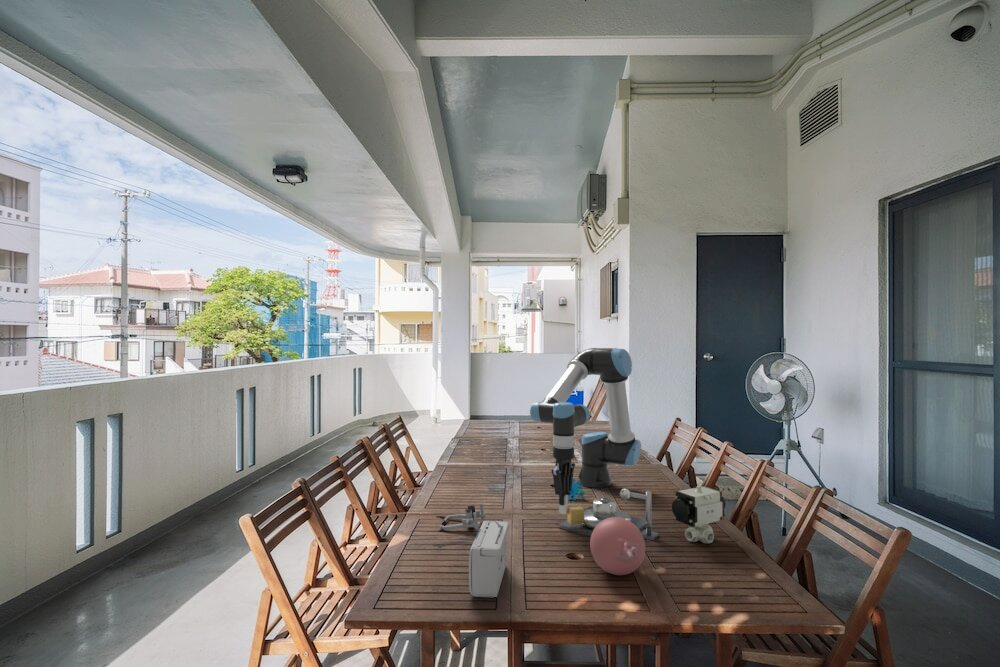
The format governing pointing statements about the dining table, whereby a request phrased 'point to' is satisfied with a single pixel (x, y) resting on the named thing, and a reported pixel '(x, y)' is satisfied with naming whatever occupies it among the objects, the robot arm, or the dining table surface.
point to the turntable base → (584, 530)
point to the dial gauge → (646, 533)
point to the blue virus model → (576, 491)
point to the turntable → (588, 516)
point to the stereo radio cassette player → (488, 559)
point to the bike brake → (469, 522)
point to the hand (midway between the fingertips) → (563, 513)
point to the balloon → (617, 546)
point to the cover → (604, 508)
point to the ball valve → (699, 511)
